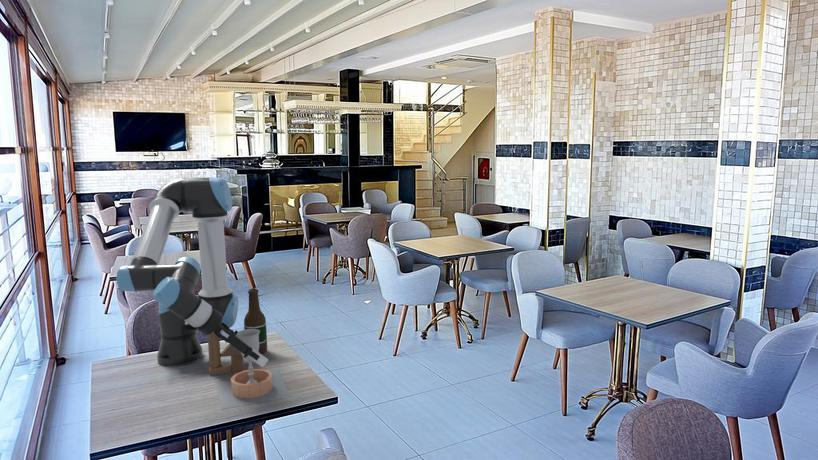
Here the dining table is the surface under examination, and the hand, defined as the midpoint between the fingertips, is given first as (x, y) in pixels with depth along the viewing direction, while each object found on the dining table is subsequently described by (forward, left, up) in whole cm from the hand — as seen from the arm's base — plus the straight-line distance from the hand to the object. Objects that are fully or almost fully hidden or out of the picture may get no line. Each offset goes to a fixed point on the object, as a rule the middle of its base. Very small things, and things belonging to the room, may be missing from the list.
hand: (258, 356), depth 171 cm
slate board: (0, -2, -12) cm, 12 cm away
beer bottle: (-35, +4, -12) cm, 37 cm away
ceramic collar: (0, -2, -10) cm, 10 cm away
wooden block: (-18, -8, -12) cm, 23 cm away
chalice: (0, -2, -10) cm, 11 cm away
